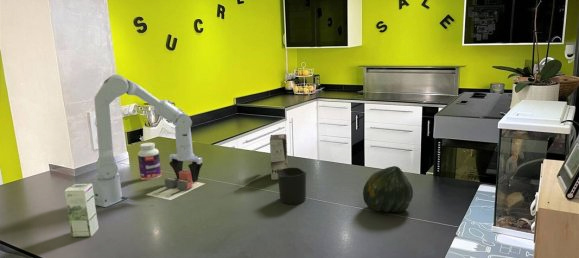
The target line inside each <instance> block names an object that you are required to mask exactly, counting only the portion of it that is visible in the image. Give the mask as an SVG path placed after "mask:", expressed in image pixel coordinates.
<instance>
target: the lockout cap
mask: <svg viewBox="0 0 579 258" xmlns="http://www.w3.org/2000/svg"><path fill="white" fill-rule="evenodd" d="M182 179H185V180H190V181H191V185H192V184H194V183H195V182H193V181H192V176H191V171H190V168H189V169H188V168H185V169H182V171H180V172H179V180H182Z"/></svg>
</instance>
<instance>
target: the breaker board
mask: <svg viewBox="0 0 579 258" xmlns="http://www.w3.org/2000/svg"><path fill="white" fill-rule="evenodd" d="M205 184H206V183H205V182H204V183H203V182H199V181H196V182H195V183H194V184H192V188H191V189H189V190H187V191H183V190H178V189H177V187H176V188H174V189H172V188H167V187H165V186H162V187H160V188H158V189H155V190H154V191H151V192H148V193H146V194H145V195H146V196H150V197H155V198H158V199H164V200H169V201H171V200H174V199H176V198H178V197H180V196H182V195H184V194H186V193H189V192H190V191H193V190H195V189H197V188H199V187H201V186H203V185H205Z"/></svg>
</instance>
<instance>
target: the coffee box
mask: <svg viewBox="0 0 579 258" xmlns="http://www.w3.org/2000/svg"><path fill="white" fill-rule="evenodd" d="M287 145H288V142H287V134H285V133H283V134H281V133H280V134H278V133H277V134H271V135H270V138H269V150H270V156H269V157H270V174H271V175H270V176H271V177H270V179H271V180H278V171H279V170H281V169H284V168H289V167H288V146H287Z"/></svg>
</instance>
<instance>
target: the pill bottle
mask: <svg viewBox="0 0 579 258" xmlns="http://www.w3.org/2000/svg"><path fill="white" fill-rule="evenodd" d="M155 146H156V144H155V142H144V143H141V144H140V145H139V148H140V150H139V151H138V152H137V160H138V167H139V168H138V169H139V176H140V177H139V178H140V179H141V180H142V181H144V180H154V179H158V178H159V177H161V176H162V168H161V159H160V152H159V151H160V150H158V148H155Z"/></svg>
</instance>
